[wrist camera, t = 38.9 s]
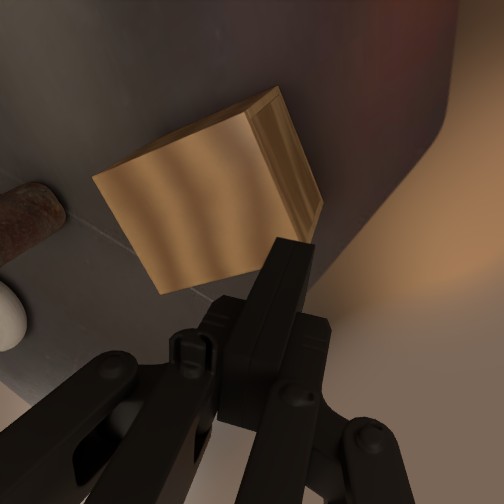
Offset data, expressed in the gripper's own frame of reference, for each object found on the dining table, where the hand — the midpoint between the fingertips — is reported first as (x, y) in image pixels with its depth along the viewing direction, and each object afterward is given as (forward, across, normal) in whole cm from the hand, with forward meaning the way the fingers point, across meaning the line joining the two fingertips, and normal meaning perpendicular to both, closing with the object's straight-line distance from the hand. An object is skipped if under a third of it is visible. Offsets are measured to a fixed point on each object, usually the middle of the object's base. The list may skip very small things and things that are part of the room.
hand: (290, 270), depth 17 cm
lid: (+21, -11, -9) cm, 25 cm away
